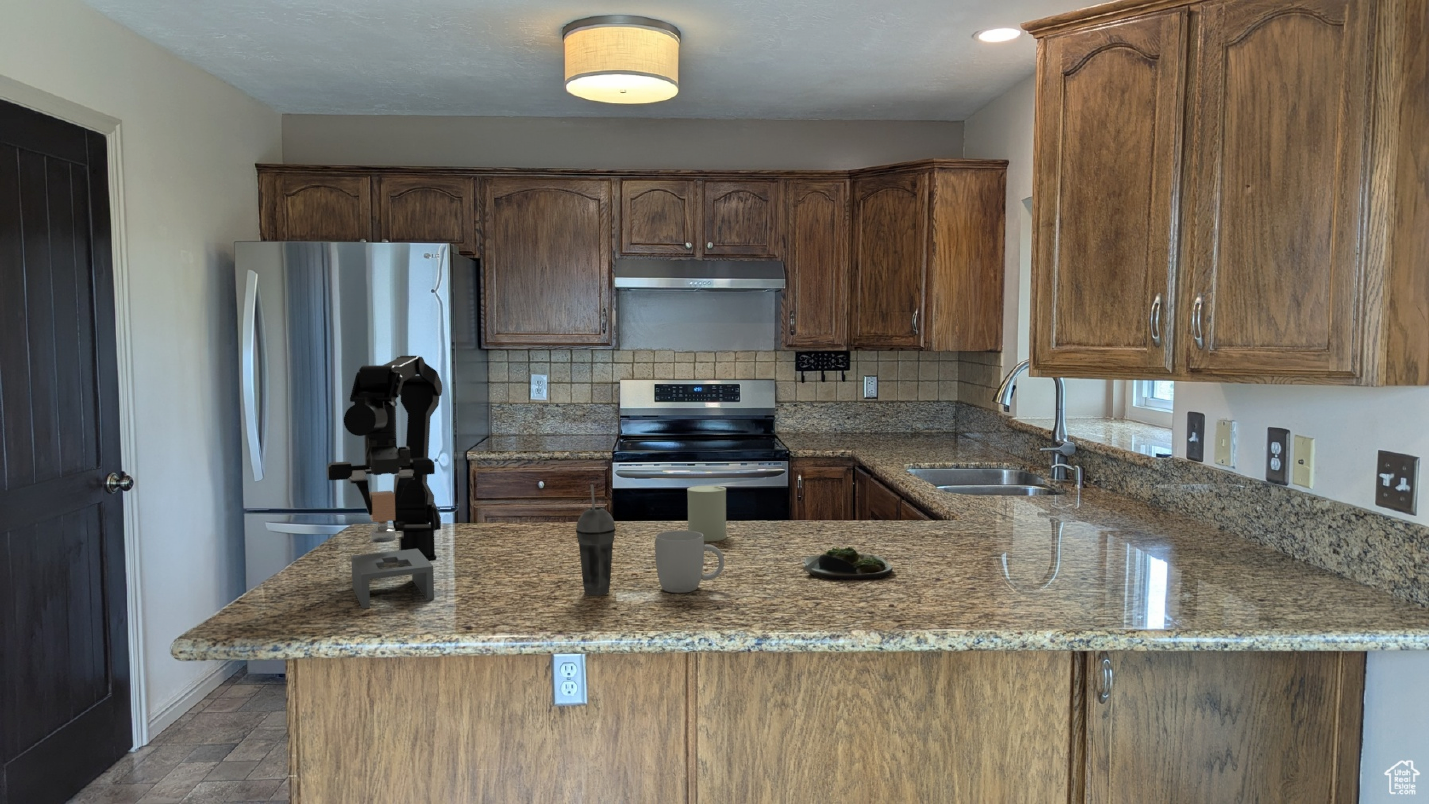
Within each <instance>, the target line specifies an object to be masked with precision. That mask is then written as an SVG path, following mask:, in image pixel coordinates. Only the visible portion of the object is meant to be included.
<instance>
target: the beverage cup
mask: <svg viewBox="0 0 1429 804" xmlns="http://www.w3.org/2000/svg"><path fill="white" fill-rule="evenodd" d="M594 489H595V488H594V484H590V492H591V495H590V496H591V507H590V508H588V509H586V510H584V511H583V512H582V513H581V514H580V515H579V517H578V520H577V524H576V529H575V532H576V538H577V543H578V547H579V548H578V549H579V555H580V567H581V576H582V584H583V590H584V595H586V596H589V597H590V596H591V597H600V596H605V595H608V594H609V593H610V585H611V577H612V576H611V575H612V562H613V561H612V560H613V549H614V548H613V547H614V541H615V536H616V530H617V529H616V525H615V520H614V518H613V516H612V515H611V513H609V512H608V511H607V510H606V509H604V508H602V507H596V502H595V490H594Z"/></svg>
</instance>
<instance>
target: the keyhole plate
mask: <svg viewBox="0 0 1429 804" xmlns="http://www.w3.org/2000/svg"><path fill="white" fill-rule="evenodd" d="M391 563H396V564H397V565H398V566H399V567H390V568H384V567H385V564H391ZM406 565H407V566H406ZM407 575H408V576H410V575H411V580H412V582H413V583H414V584H415V586H416V587H417V589H418V590H419V591H420V592H421V594H422V596H423V597H424V598H425V599H426V601H431V600H435V588H434V587H435V583H434V578H435V577H434V575H435V574H434V565H433V564H432V563H431V562H430V561H429V560H427V559H426V557H425V556H424V555H423V554H422V553H421V552H420V551H419V549H409V550H400V551H399V550H391V551H384V552H373V553H363V554H355V555H351V581H352V589H353V592H354V594H355V595H356V597H357V600H358V602H359V604H360V606H361V608H362V610H365V609H370V608H371V602H370V601H371V598H370V595H371V593H370V580H375V579H377V580H378V579H383V578H393V577H399V576H407Z"/></svg>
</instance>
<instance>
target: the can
mask: <svg viewBox="0 0 1429 804" xmlns="http://www.w3.org/2000/svg"><path fill="white" fill-rule="evenodd" d="M686 490H687V531H695V532H700V533H702V534H703V536H704V543H705V542H719V541H723V540H725V539H727V537H728V535H727V487H724V486H719V485H695V486H690V487H688V488H687V489H686Z"/></svg>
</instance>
